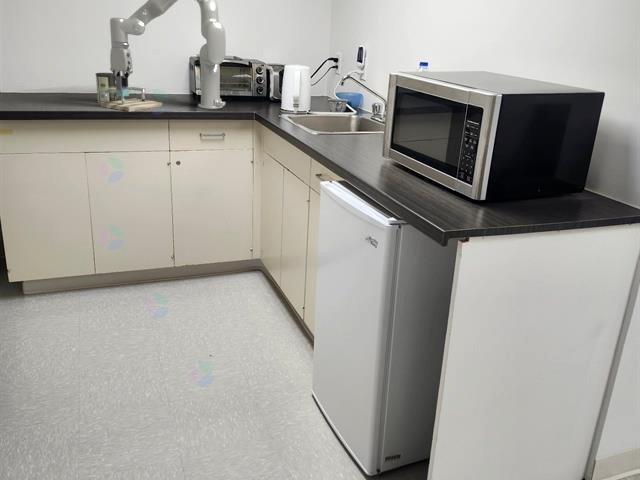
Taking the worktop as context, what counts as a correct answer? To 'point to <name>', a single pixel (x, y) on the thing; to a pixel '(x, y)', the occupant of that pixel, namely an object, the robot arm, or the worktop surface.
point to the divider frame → (129, 89)
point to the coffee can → (106, 86)
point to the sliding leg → (121, 88)
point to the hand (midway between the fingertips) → (122, 85)
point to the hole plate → (131, 104)
